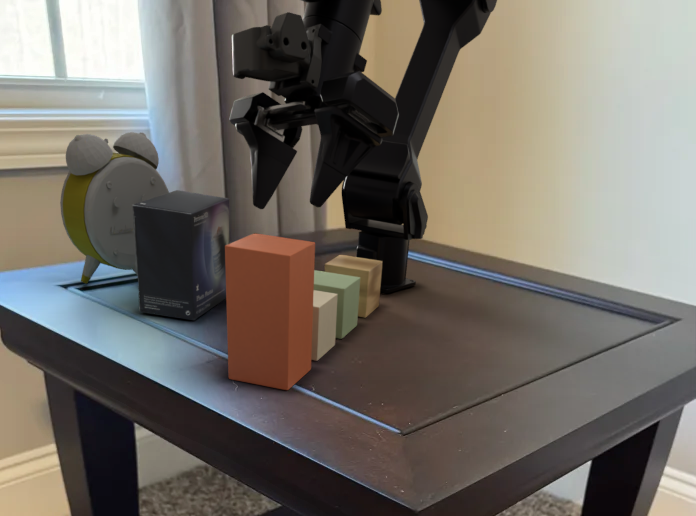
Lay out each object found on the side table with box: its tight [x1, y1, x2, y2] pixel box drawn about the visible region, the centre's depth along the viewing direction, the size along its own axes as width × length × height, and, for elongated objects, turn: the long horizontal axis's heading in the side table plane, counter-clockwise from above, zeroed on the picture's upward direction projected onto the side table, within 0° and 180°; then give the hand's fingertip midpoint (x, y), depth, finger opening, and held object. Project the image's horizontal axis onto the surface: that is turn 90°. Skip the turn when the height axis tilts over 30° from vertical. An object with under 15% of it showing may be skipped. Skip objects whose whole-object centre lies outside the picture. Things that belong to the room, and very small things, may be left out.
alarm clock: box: [59, 131, 170, 285], centre depth 84 cm, size 12×7×15 cm, turn 144°
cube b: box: [314, 269, 360, 340], centre depth 78 cm, size 5×5×5 cm
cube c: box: [311, 290, 338, 362], centre depth 72 cm, size 5×5×5 cm
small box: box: [132, 189, 231, 321], centre depth 80 cm, size 11×6×10 cm, turn 168°
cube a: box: [324, 254, 382, 318], centre depth 85 cm, size 5×5×5 cm
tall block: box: [225, 232, 316, 391], centre depth 65 cm, size 6×6×11 cm
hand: (285, 206), depth 72 cm, fingers open, 9 cm apart
